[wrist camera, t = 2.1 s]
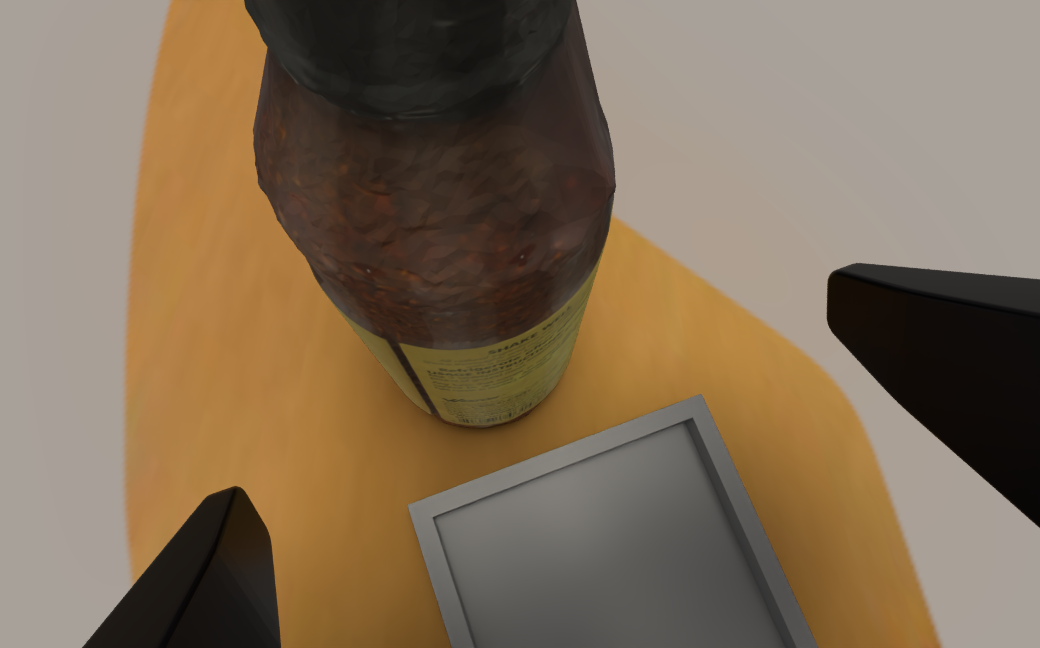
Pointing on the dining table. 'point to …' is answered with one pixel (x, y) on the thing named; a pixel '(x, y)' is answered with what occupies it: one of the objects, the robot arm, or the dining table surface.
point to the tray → (611, 547)
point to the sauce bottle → (441, 185)
